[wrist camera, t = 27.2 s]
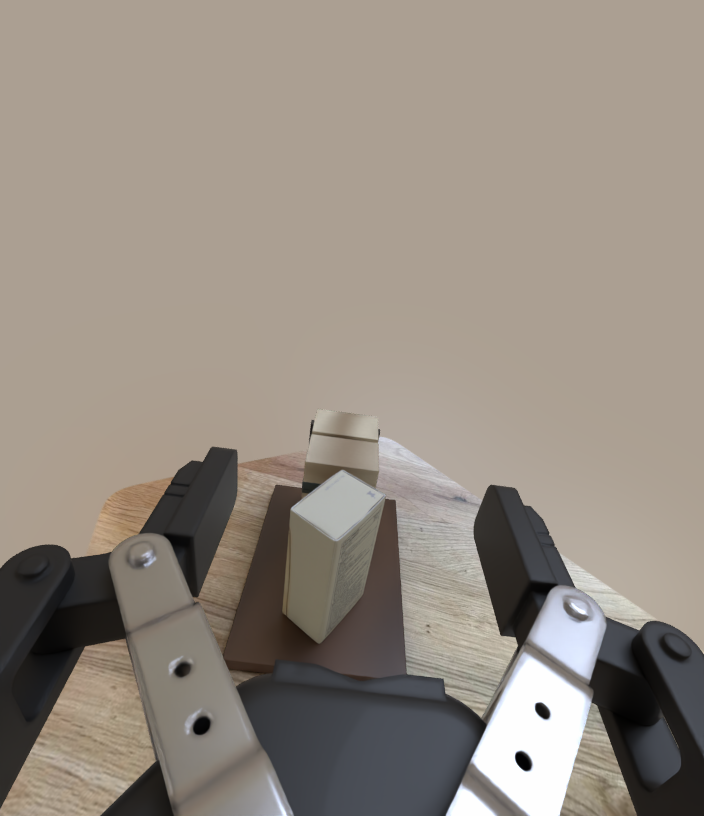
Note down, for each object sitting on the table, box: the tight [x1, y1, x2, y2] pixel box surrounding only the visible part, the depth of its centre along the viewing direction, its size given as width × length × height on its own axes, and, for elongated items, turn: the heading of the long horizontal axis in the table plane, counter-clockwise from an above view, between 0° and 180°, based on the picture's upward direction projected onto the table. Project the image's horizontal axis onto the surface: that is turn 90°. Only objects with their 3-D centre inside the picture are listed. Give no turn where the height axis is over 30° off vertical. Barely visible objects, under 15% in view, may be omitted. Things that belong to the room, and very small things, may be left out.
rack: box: [223, 409, 407, 681], centre depth 38 cm, size 14×20×13 cm
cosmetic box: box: [282, 470, 386, 643], centre depth 34 cm, size 6×4×12 cm
